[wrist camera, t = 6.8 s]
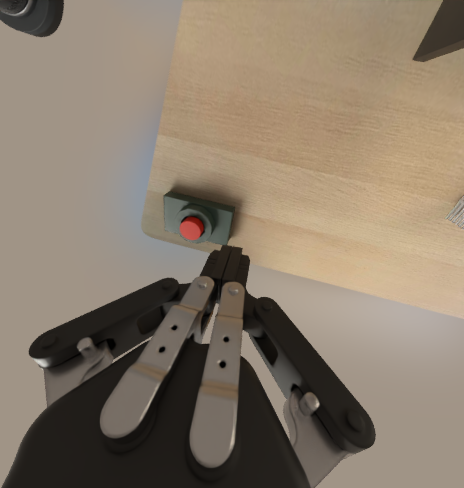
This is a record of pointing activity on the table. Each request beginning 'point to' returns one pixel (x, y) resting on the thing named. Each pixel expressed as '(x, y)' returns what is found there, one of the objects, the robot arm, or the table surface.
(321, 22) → the table surface
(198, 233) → the stop button
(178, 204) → the control pad
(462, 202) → the brush
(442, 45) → the dark box with flaps
